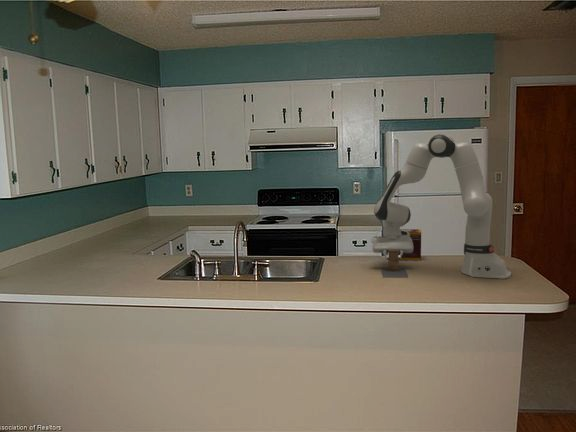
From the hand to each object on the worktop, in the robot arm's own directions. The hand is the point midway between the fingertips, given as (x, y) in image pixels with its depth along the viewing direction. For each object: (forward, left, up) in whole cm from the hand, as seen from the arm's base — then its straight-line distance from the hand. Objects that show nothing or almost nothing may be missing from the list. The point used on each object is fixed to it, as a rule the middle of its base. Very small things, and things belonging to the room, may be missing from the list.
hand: (393, 259), depth 257 cm
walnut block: (0, -1, -6) cm, 6 cm away
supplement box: (+3, -31, -7) cm, 31 cm away
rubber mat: (-1, +3, -6) cm, 7 cm away
